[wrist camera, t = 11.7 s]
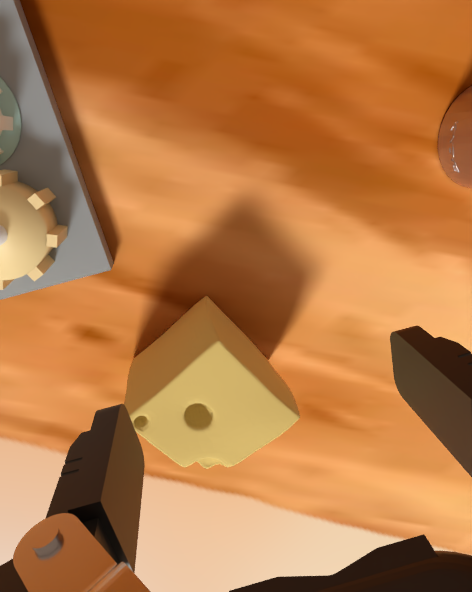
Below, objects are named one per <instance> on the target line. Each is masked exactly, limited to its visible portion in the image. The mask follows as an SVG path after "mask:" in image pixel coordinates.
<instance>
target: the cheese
mask: <svg viewBox="0 0 472 592" xmlns="http://www.w3.org/2000/svg"><path fill="white" fill-rule="evenodd" d="M124 405H125V407H126V409H127V411H128V413H129V416H130V418H131V421H132V424H133V426H134V429H135V431H136V432H137V433H138V434H140V435H141V436H142V437H144V438H145V439H146V440H147V441H148V442H149V443H151V444H152V445H153V446H155V447H156V448H157V449H159V450H160V451H161V452H163V453H164V454H165V455H167V456H168V457H169V458H171V459H172V460H173V461H175V462H176V463H177V464H179V465H180V466H182V467H187V466H189V465H191V464H193V463H194V462H196V461H197V462H198V463H199V464H200V465H201V466H203V467H204V468H206V469H208V468H210V467H212V466H214V465H216V464H221V465H223V466H225V467H231V466H234V465H236V464H238V463H240V462H241V461H243V460H244V459H245V458H247V457H248V456H249V455H251V454H253V453H254V452H256V451H257V450H259V449H260V448H262V447H263V446H265V445H267V444H268V443H270V442H271V441H273V440H274V439H276V438H277V437H279V436H280V435H281V434H283V433H284V432H285V431H287V430H288V429H289V428H290V427H291V426H292V425H293V424H294V423H295V422H296V421H297V420H298V419H299V418H300V415H299V411H298V407H297V404H296V402H295V399H294V397H293V394H292V392H291V391H290V389H289V387H288V386H287V384H286V383H285V382H284V380H283V379H282V378H281V377H280V375H279V374H278V373H277V372H276V371H275V369H274V368H273V367H272V365H271V364H270V362H269V361H268V359H267V358H266V357H265V356H264V355H263V354H262V353H261V352H260V350H259V349H258V348H257V347H256V346H255V345H254V344H253V343H252V342H251V340H250V339H249V338H248V337H247V336H246V335H245V334H244V333H243V332H242V331H241V330H240V329H239V328H238V327H237V326H236V325H235V324H234V323H233V322H232V321H231V320H230V319H229V318H228V317H227V316H226V315H225V314H224V313H223V312H222V311H221V310H220V309H219V308H218V307H217V306H216V305H215V303H214V302H213V301H212V300H211V299H210V298H209V297H208V296H205V297H204V298H202V299H201V300H200V301H199V302H197V303H196V304H195V305H194V306H193V307H192V308H190V309H189V310H188V311H187V312H186V313H185V314H184V315H183V316H182V317H181V318H180V319H179V320H178V321H177V322H175V323H174V324H173V325H172V326H171V327H170V328H169V329H168V330H167V331H166V332H165V333H164V334H163V335H161V336H160V337H159V338H158V339H157V340H156V341H154V342H153V343H152V344H151V345H150V346H148V347H147V348H146V349H145V350H143V351H142V352H141V353H140V354H139V355H137V356H136V357H135V358H134V359H133V361H132V364H131V367H130V370H129V375H128V380H127V390H126V396H125V402H124Z"/></svg>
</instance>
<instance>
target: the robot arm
mask: <svg viewBox="0 0 472 592" xmlns="http://www.w3.org/2000/svg"><path fill="white" fill-rule="evenodd" d="M438 153H439V159H440V162H441V164H442V167H443V169H444V171H445V172H446V174H447V175H448V177H450V178H451V179H452V180H453V181H454V182H455V183H457V184H460V185H462V186H464V187H469V188H472V86H470V87H469V88H468V89H466V90H465V91H464V92H463V93H461V94H460V95H459V96H458V97H457V99H456V100H455V101H454V102H453V103H452V105H451V106H450V108H449V109H448V111H447V113H446V114H445V117H444V119H443V122H442V124H441V128H440V132H439V136H438ZM390 342H391V352H392V362H393V372H394V379H395V383H396V386H397V389H398V391H399V393H400V394H401V396H402V397H403V399H404V400H405V401H406V402H407V403H408V404H409V406H410V407H411V408H412V409H413V410H414V411H415V412H416V414H417V415H418V416H419V417H420V418H421V419H422V421H423V422H424V423H425V424H426V425H427V426H428V427H429V429H430V430H431V431H432V432H433V433H434V434H435V435H436V437H437V438H438V439H439V440H440V441H441V442H442V444H443V445H444V446H445V447H446V448H447V449H448V450H449V452H450V453H451V454H452V455H453V456H454V457H455V458H456V460H457V461H458V462H459V463H460V464H461V465H462V467H463V468H464V469H465V470H466V471H467V472H468V473H469V475H470V476H471V477H472V354H471V352H470V351H468V350H467V349H466V348H464V347H463V346H462V345H460V344H459V343H457V342H454V341H451V340H448V339H445V338H442V337H438V338H434V337H432V336H431V335H430V334H429V333H427V332H426V331H425V330H423V329H422V328H421V327H419V326H413V327H409V328H406V329H402V330H398V331H394V332H392V333H391V336H390ZM143 477H144V456H143V451H142V447H141V444H140V442H139V439H138V436H137V434H136V431H135V429H134V426H133V424H132V421H131V418H130V416H129V413H128V411H127V409H126V407H125V405H124V404H120V405H116V406H112V407H109V408H105V409H101V410H98V411H96V413H95V416H94V420H93V423H92V427H91V430H90V431H87V432H83V433H81V434H80V435H79V437H78V438H77V439H76V440H75V442H74V443H73V444H72V445H71V447H70V449H69V451H68V454H67V457H66V460H65V465H64V466H63V469H62V472H61V477H60V478H59V481H58V484H57V487H56V490H55V492H54V495H53V498H52V501H51V504H50V507H49V511H48V513H47V516H46V519H44V520H42V521H41V522H39V523H38V524H36V525H35V526H34V527H33V528H31V529H30V530H29V531H28V532H27V533H26V534H25V535H24V537H23V538H22V539H21V541H20V542H19V544H18V546H17V547H16V550H15V552H14V556H13V559H11V560H10V561H8V562H7V563H5V564H3V565H1V566H0V592H150V591H149V590H148V588H147V587H146V586H145V585H144V584H143V583H142V582H141V581H140V579H139V578H137V576H136V575H135V574H134V571H135V560H136V549H137V539H138V529H139V518H140V508H141V498H142V487H143ZM229 592H472V556H471V555H467V554H462V553H457V552H449V551H434V549H433V548H432V546H431V544H430V543H429V541H428V540H427V538H426V536H425V535H420V536H417V537H414V538H410V539H407V540H403V541H400V542H396V543H393V544H389V545H386V546H383V547H379V548H377V549H375V550H373V551H371V552H370V553H368V554H367V555H365V556H363V557H362V558H360V559H359V560H357V561H355V562H354V563H352V564H350V565H349V566H347V567H346V568H344V569H342V570H341V571H339V572H337V573H336V574H333V575H330V576H298V577H297V576H295V577H276V578H272V579H269V580H265V581H262V582H258V583H255V584H252V585H249V586H245V587H241V588H238V589H234V590H231V591H229Z"/></svg>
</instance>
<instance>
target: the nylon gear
mask: <svg viewBox="0 0 472 592" xmlns="http://www.w3.org/2000/svg"><path fill="white" fill-rule="evenodd" d="M2 92H3V91H2V90H1V89H0V94H1V93H2ZM2 130H13V117H9V116H3V114H2V112H1V109H0V135H1V132H2ZM3 152H4V151H3V150H2V149H1V148H0V154H2V153H3Z"/></svg>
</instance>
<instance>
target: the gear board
mask: <svg viewBox="0 0 472 592" xmlns="http://www.w3.org/2000/svg"><path fill="white" fill-rule="evenodd" d="M0 89H1V90H2V91H3V92H2V93H1V94H0V109H1V112H2V114H3V116H9V117H13V130H2V132H1V135H0V148H1V149H2V150H3V151H4V152H3V153H2V154H0V300H1V299H5V298H8V297H12V296H16V295H19V294H23V293H27V292H31V291H34V290H38V289H42V288H45V287H49V286H53V285H57V284H60V283H64V282H68V281H71V280H75V279H79V278H83V277H86V276H90V275H94V274H97V273H101V272H105V271H109V270H111V269H112V267H113V264H114V262H113V259H112V257H111V254H110V251H109V248H108V245H107V243H106V240H105V237H104V234H103V231H102V229H101V226H100V223H99V220H98V218H97V215H96V212H95V209H94V206H93V204H92V201H91V198H90V195H89V192H88V190H87V187H86V184H85V181H84V179H83V176H82V173H81V170H80V167H79V165H78V162H77V159H76V156H75V153H74V151H73V148H72V145H71V142H70V139H69V137H68V134H67V131H66V128H65V126H64V123H63V120H62V117H61V114H60V112H59V109H58V106H57V103H56V100H55V98H54V95H53V92H52V89H51V86H50V84H49V81H48V78H47V75H46V73H45V70H44V67H43V64H42V61H41V59H40V56H39V53H38V50H37V47H36V45H35V42H34V39H33V36H32V34H31V31H30V28H29V25H28V22H27V20H26V17H25V14H24V11H23V8H22V6H21V3H20V0H0Z"/></svg>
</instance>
